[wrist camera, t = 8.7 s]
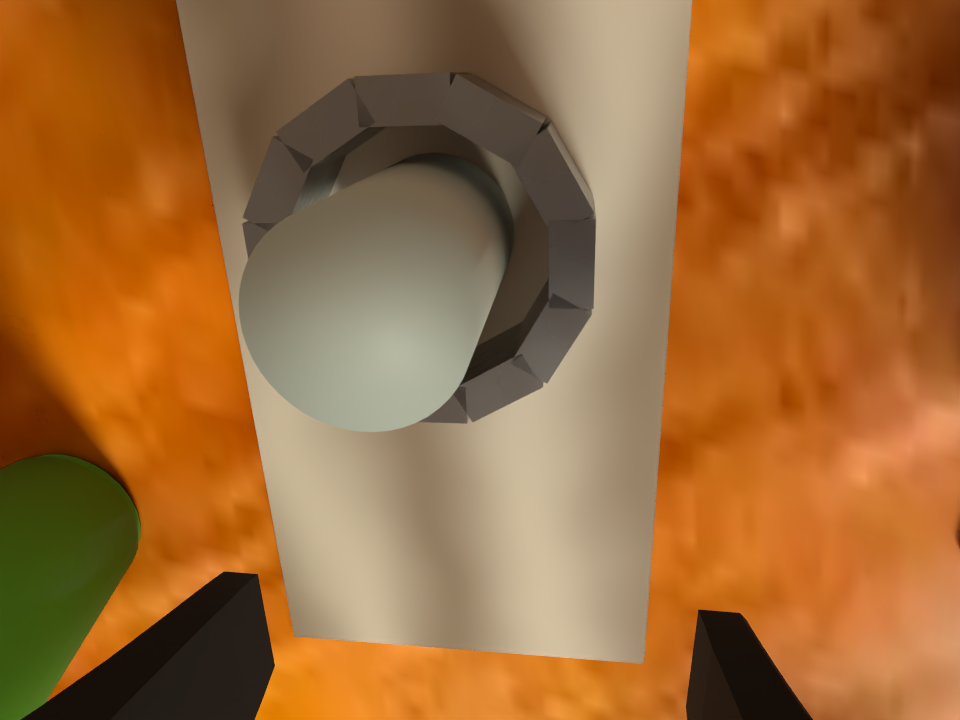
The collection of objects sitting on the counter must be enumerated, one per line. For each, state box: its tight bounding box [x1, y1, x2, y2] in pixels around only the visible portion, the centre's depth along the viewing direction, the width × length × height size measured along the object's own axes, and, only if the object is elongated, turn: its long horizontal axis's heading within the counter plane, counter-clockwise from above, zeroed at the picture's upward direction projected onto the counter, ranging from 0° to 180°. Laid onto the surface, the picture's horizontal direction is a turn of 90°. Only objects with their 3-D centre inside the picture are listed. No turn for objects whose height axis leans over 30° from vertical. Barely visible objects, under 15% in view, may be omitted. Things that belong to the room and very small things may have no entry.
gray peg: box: [239, 153, 514, 432], centre depth 14 cm, size 4×4×7 cm
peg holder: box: [176, 0, 692, 664], centre depth 18 cm, size 12×22×4 cm, turn 2°
